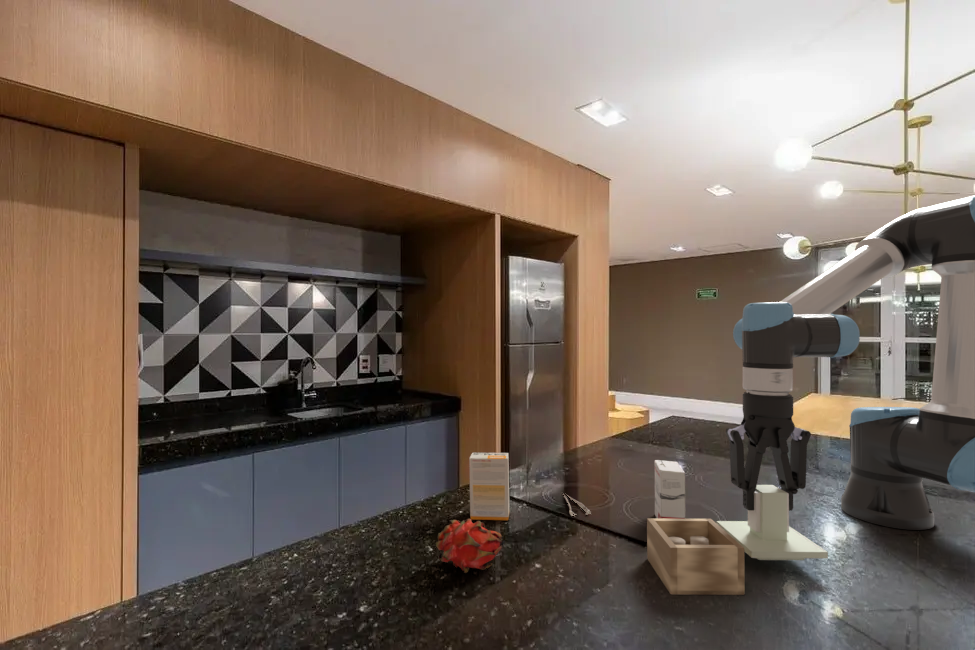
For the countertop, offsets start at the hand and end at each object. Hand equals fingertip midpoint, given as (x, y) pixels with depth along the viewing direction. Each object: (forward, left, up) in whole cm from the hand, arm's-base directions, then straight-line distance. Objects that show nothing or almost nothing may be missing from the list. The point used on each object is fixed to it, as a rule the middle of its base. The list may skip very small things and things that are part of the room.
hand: (767, 528), depth 82 cm
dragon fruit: (+51, +2, -6) cm, 51 cm away
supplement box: (+48, -19, -6) cm, 52 cm away
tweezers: (+30, -28, -6) cm, 41 cm away
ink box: (+11, -16, -6) cm, 20 cm away
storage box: (+15, +5, -6) cm, 17 cm away
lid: (0, 0, -4) cm, 4 cm away
